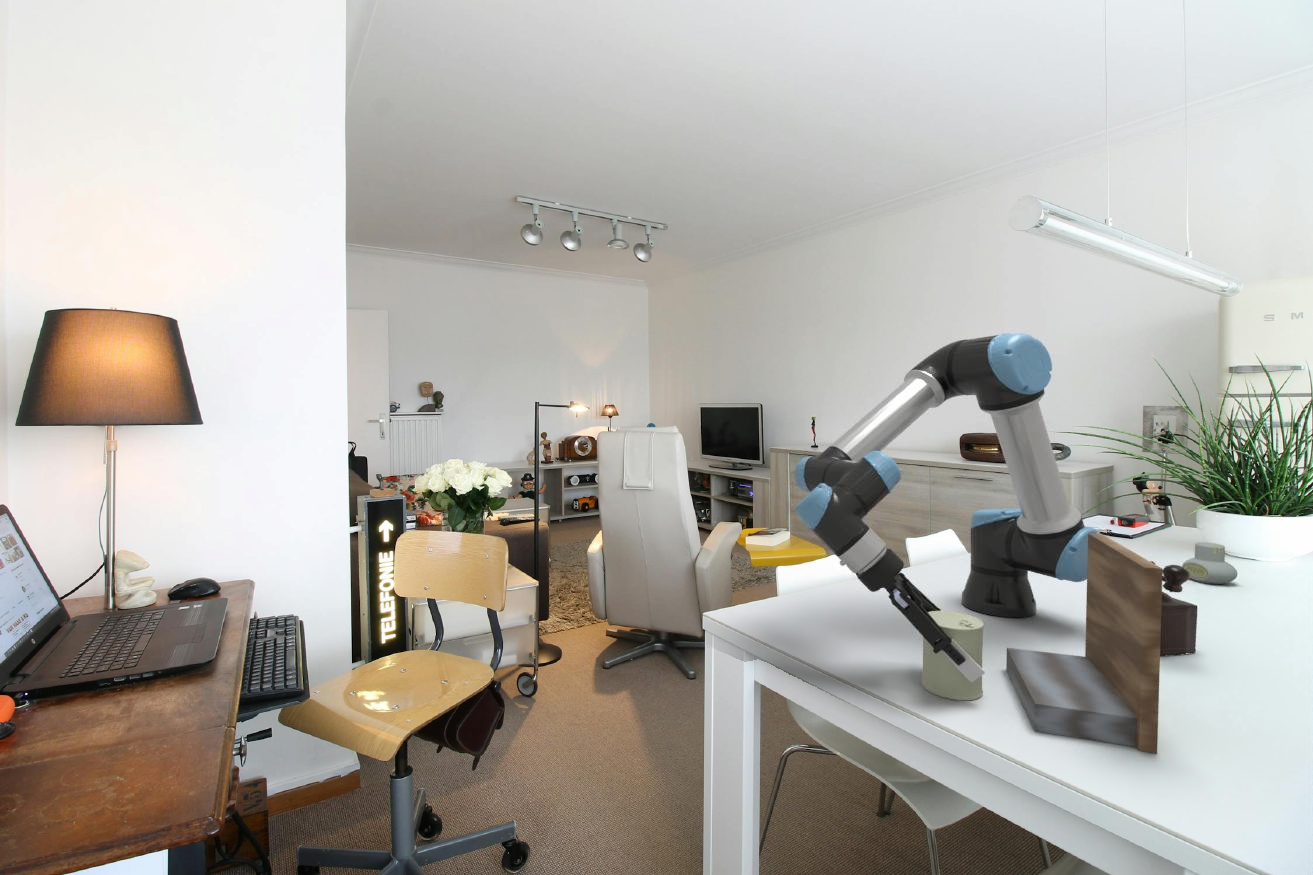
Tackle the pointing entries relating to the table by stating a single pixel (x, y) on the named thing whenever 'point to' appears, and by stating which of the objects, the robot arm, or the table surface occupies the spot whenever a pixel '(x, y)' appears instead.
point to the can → (940, 670)
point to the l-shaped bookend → (1102, 658)
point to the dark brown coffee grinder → (1177, 615)
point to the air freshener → (1210, 564)
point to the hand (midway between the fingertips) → (973, 664)
